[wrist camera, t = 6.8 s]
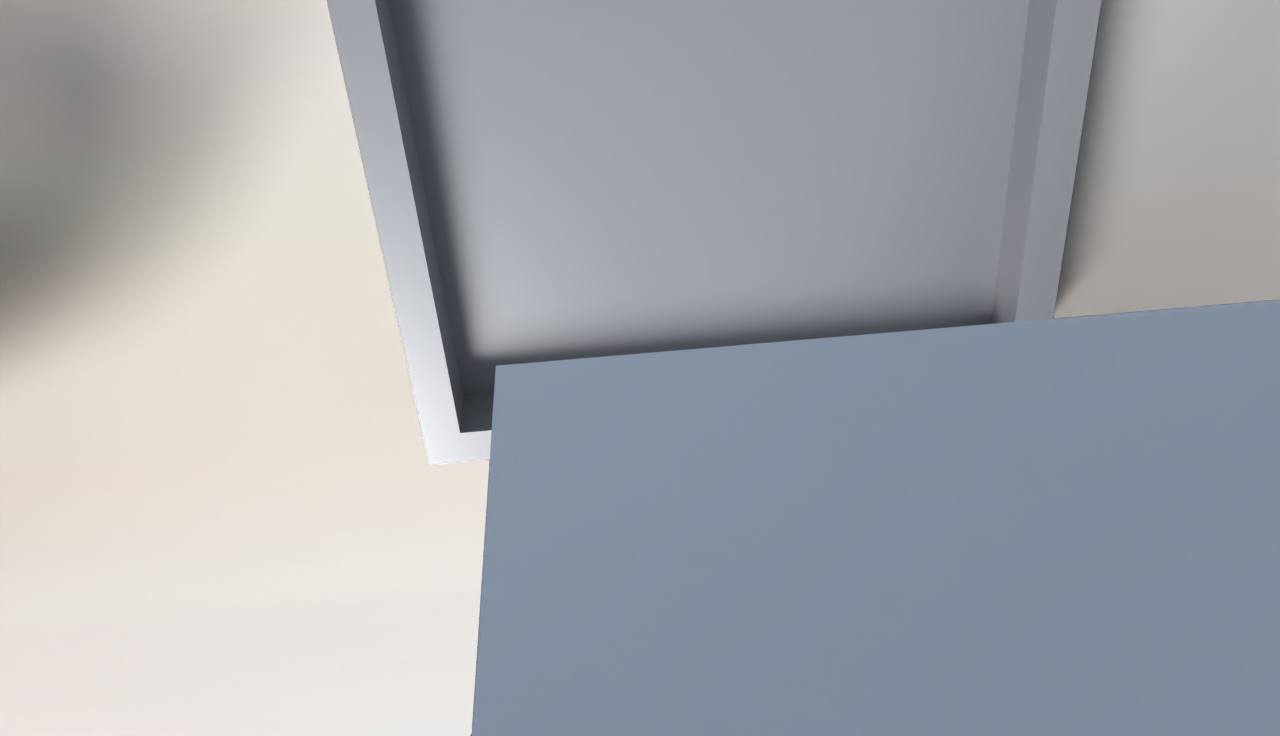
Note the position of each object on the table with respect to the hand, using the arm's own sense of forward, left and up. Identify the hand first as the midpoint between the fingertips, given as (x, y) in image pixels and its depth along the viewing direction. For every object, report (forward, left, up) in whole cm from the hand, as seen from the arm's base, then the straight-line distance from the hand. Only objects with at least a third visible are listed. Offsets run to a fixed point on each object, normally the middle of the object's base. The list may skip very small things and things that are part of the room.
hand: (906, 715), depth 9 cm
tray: (0, 0, -11) cm, 11 cm away
